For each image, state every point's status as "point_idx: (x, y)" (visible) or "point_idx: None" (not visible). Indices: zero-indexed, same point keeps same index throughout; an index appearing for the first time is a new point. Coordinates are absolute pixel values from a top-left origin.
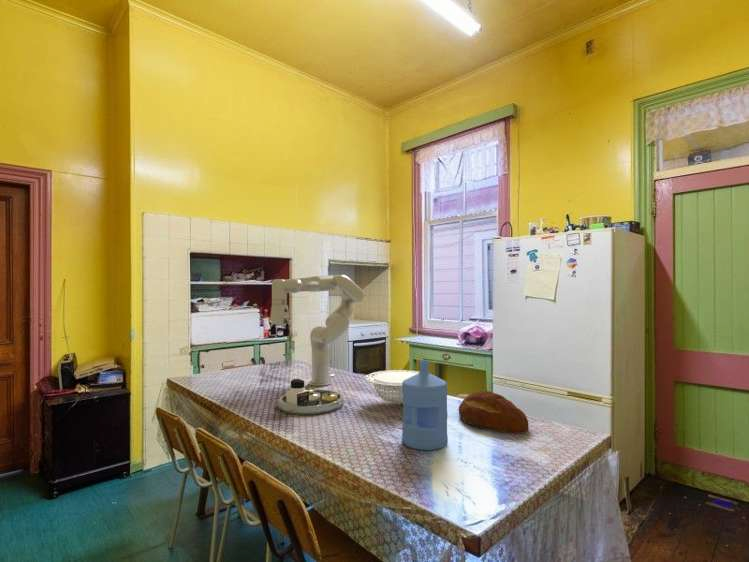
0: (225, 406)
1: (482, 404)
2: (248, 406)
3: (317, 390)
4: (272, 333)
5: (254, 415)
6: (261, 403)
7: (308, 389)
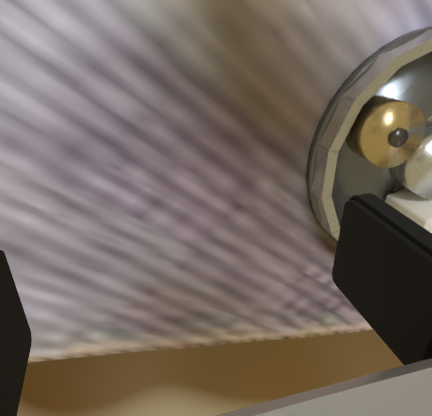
0: (186, 340)
1: None
2: (244, 294)
3: (400, 65)
4: (21, 345)
5: (324, 311)
6: (252, 254)
7: (406, 137)
